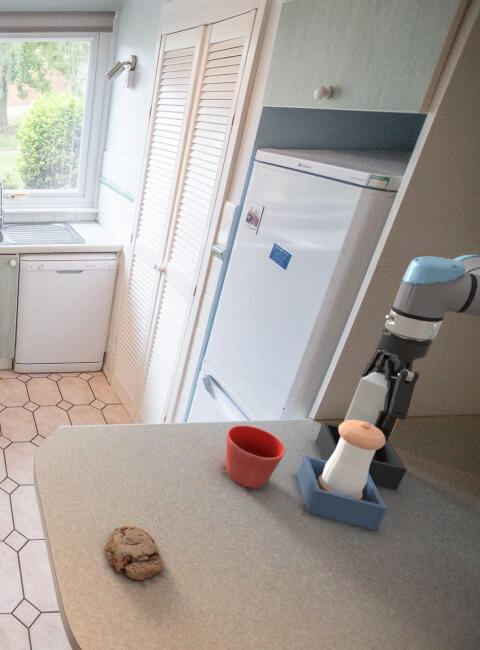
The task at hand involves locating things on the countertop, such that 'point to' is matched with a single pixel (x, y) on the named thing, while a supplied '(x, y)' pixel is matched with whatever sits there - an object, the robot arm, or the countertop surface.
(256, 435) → the flower pot
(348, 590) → the countertop surface
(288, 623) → the countertop surface
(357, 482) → the pepper shaker
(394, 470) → the charcoal bin
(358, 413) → the small box
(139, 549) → the cookie
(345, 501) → the blue bin
